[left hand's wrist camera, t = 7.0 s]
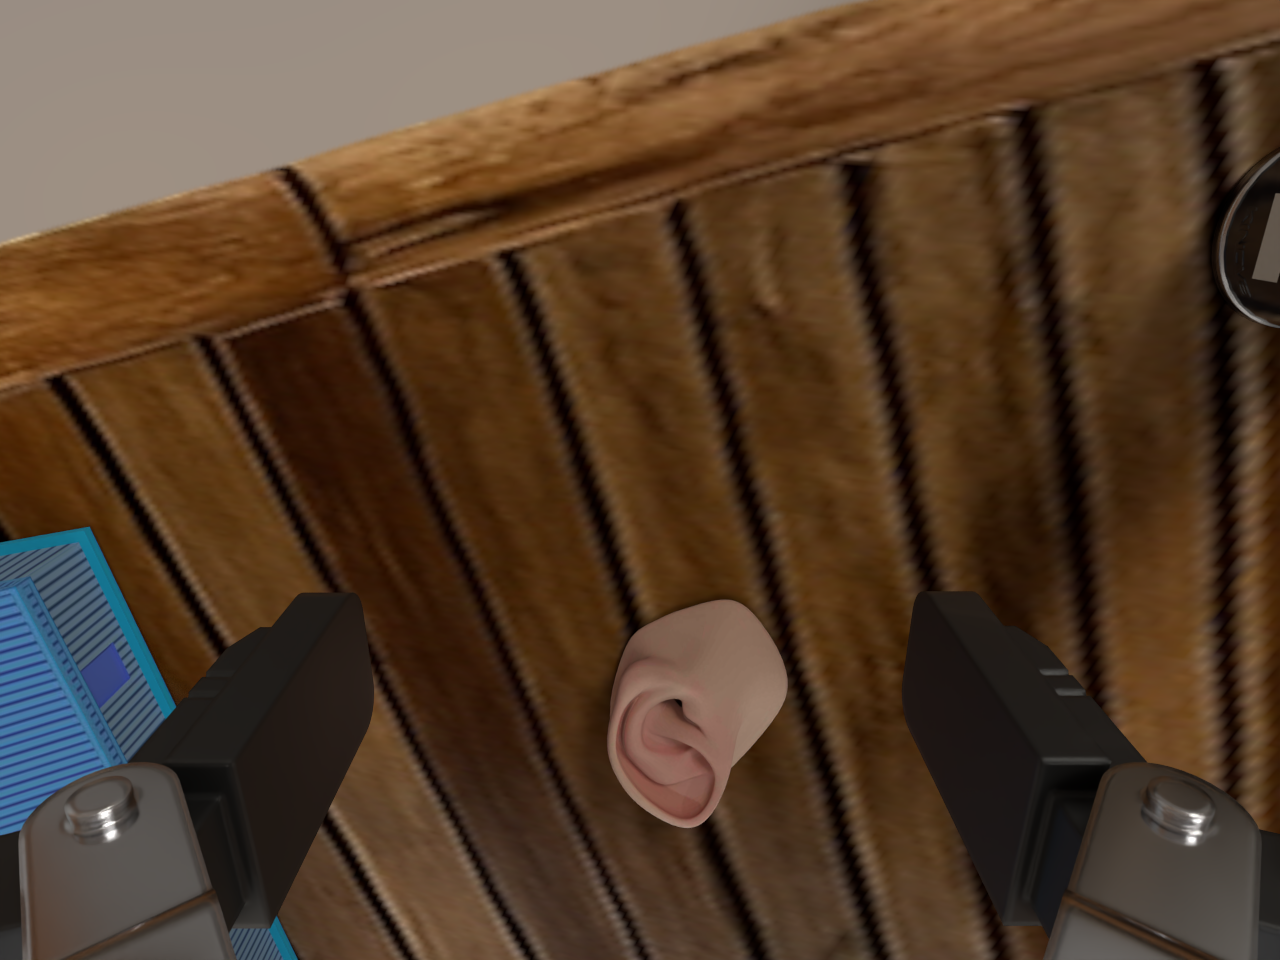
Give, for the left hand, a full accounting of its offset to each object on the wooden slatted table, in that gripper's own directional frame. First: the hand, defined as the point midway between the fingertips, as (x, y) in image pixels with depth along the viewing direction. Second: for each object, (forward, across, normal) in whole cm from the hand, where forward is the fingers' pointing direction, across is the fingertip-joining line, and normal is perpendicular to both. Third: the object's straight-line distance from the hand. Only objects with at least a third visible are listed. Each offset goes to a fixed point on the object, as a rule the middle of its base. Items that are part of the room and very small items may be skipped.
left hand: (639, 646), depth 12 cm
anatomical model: (+32, +3, -24) cm, 40 cm away
